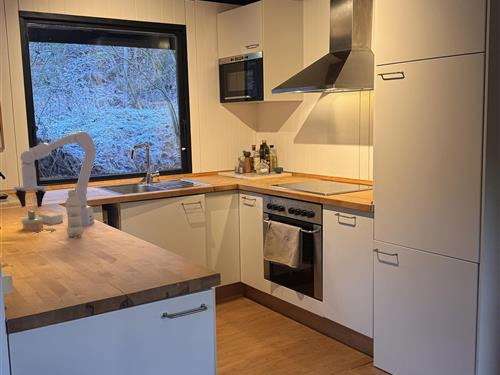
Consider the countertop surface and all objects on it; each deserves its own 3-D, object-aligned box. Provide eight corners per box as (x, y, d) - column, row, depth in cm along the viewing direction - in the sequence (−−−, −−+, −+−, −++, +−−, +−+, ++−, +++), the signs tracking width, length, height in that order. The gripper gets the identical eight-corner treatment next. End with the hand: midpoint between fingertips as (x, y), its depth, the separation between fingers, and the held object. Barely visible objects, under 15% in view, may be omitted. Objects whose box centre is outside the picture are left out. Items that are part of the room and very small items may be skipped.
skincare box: (49, 211, 260) (62, 214, 252) (50, 219, 261) (63, 223, 253) (38, 213, 255) (51, 216, 248) (38, 222, 256) (51, 225, 248)
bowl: (46, 227, 244) (45, 219, 243) (35, 231, 236) (35, 223, 236) (30, 226, 245) (30, 219, 245) (20, 230, 238) (19, 223, 237)
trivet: (61, 229, 238) (60, 228, 238) (48, 235, 228) (48, 233, 228) (41, 229, 240) (41, 228, 240) (27, 234, 230) (27, 233, 230)
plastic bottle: (85, 235, 227) (82, 189, 224) (80, 238, 220) (77, 191, 218) (70, 235, 227) (67, 189, 224) (65, 239, 220) (62, 192, 217)
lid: (46, 221, 241) (46, 210, 240) (29, 224, 234) (28, 214, 233) (35, 218, 246) (34, 208, 245) (17, 222, 239) (16, 212, 238)
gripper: (48, 176, 240) (50, 205, 242) (18, 176, 242) (21, 205, 244) (41, 178, 234) (43, 208, 236) (10, 178, 235) (12, 207, 237)
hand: (31, 206), depth 239 cm, fingers open, 7 cm apart
